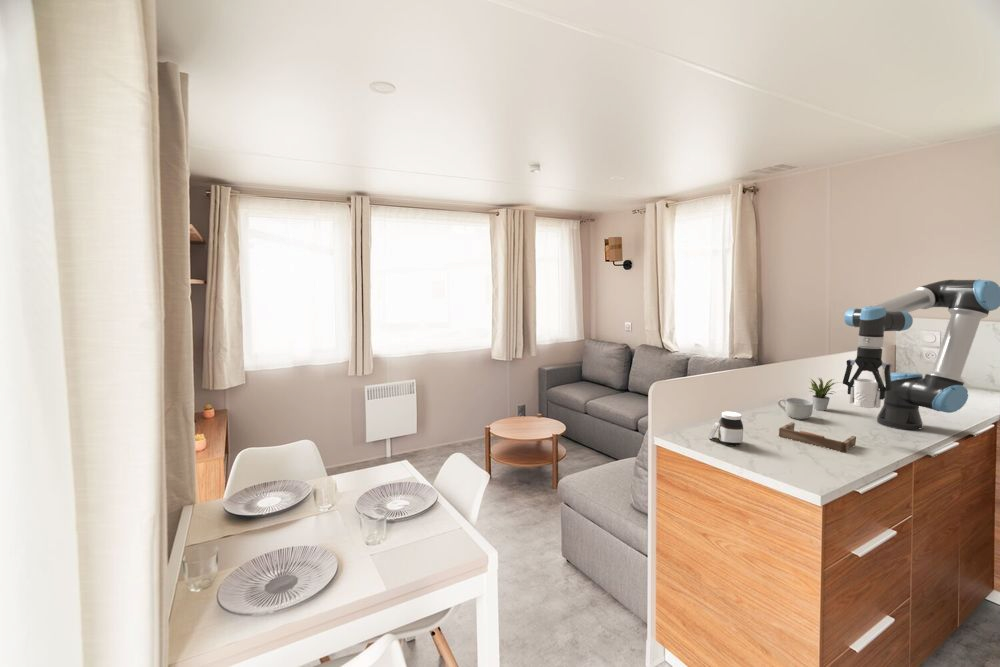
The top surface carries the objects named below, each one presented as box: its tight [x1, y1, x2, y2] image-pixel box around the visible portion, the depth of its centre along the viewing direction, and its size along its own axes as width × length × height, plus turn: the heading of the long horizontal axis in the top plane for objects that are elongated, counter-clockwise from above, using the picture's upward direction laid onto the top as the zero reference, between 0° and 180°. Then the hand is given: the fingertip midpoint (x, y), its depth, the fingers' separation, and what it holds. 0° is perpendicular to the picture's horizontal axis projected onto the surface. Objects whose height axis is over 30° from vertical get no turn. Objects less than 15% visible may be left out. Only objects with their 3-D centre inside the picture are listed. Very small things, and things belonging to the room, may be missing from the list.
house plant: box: [809, 377, 842, 412], centre depth 227 cm, size 14×14×16 cm
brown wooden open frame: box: [778, 421, 857, 454], centre depth 185 cm, size 12×22×4 cm, turn 38°
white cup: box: [853, 378, 880, 409], centre depth 182 cm, size 8×8×10 cm
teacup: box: [777, 397, 814, 420], centre depth 216 cm, size 14×11×8 cm
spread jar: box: [707, 410, 744, 447], centre depth 183 cm, size 12×11×12 cm
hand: (864, 404), depth 183 cm, fingers closed on white cup, 8 cm apart
